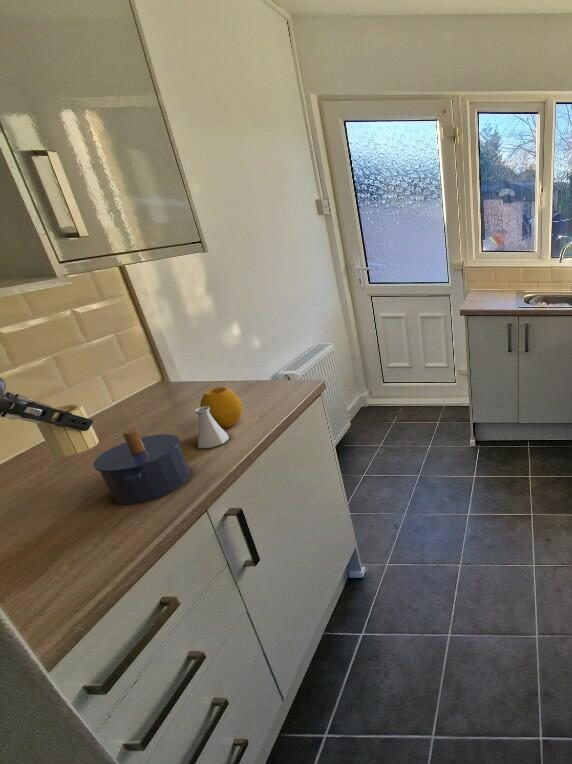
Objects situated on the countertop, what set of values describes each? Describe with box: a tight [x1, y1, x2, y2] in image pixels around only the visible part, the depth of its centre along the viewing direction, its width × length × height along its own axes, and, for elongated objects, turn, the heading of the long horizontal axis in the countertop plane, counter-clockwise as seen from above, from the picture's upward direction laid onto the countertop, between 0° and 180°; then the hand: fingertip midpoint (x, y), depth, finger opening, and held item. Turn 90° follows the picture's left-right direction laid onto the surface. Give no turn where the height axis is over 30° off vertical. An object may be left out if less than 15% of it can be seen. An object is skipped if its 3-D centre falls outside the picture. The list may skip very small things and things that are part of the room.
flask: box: [194, 406, 230, 449], centre depth 109 cm, size 7×7×10 cm
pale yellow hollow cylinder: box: [35, 403, 100, 458], centre depth 74 cm, size 6×6×8 cm
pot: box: [99, 444, 190, 505], centre depth 93 cm, size 14×19×8 cm
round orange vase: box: [199, 386, 243, 429], centre depth 118 cm, size 10×10×12 cm
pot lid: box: [93, 428, 181, 473], centre depth 90 cm, size 15×15×6 cm
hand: (77, 422), depth 75 cm, fingers closed on pale yellow hollow cylinder, 6 cm apart
